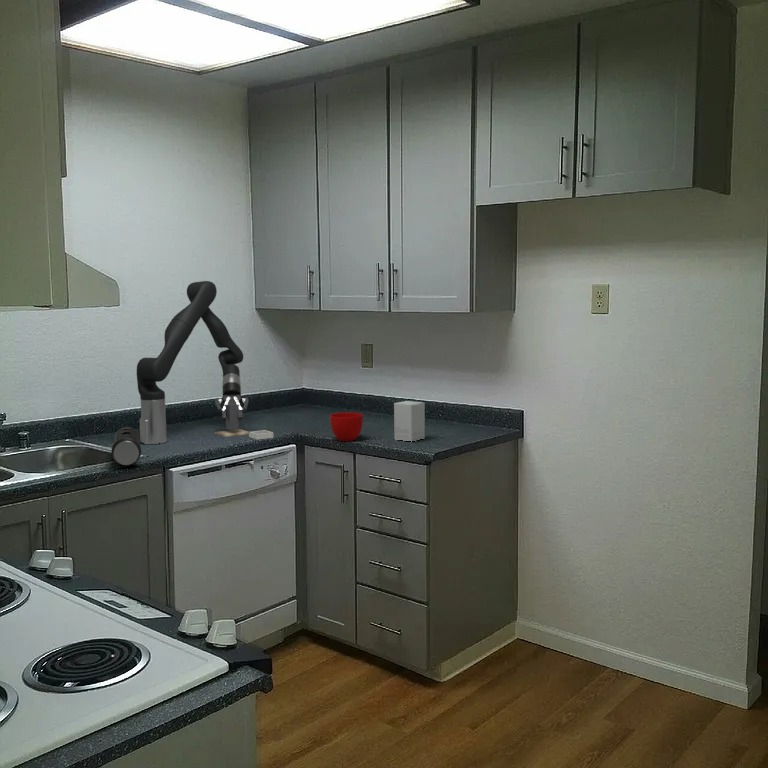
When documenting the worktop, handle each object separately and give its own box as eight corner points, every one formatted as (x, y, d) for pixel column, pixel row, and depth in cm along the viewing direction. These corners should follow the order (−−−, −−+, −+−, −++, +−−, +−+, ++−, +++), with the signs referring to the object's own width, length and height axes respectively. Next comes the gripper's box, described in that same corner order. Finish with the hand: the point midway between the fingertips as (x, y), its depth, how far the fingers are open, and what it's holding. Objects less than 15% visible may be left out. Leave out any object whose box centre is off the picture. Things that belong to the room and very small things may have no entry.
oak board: (224, 438, 329) (224, 435, 329) (214, 434, 337) (214, 432, 337) (251, 434, 336) (251, 432, 336) (240, 431, 344) (240, 429, 344)
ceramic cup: (373, 436, 330) (373, 412, 329) (353, 444, 315) (352, 418, 314) (345, 434, 336) (345, 410, 335) (324, 441, 321) (323, 416, 320)
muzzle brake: (141, 452, 301) (140, 425, 300) (141, 468, 274) (140, 438, 273) (113, 454, 298) (112, 426, 297) (111, 470, 271) (110, 440, 270)
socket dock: (257, 440, 323) (257, 433, 322) (249, 438, 329) (248, 431, 328) (273, 438, 327) (273, 432, 327) (265, 436, 333) (264, 429, 332)
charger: (230, 429, 333) (229, 405, 332) (226, 428, 337) (225, 404, 335) (239, 428, 336) (238, 404, 334) (235, 427, 339) (234, 403, 338)
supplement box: (425, 439, 324) (425, 402, 322) (411, 442, 317) (411, 404, 315) (407, 437, 329) (407, 400, 328) (393, 440, 323) (393, 402, 321)
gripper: (213, 381, 340) (214, 414, 330) (248, 380, 342) (250, 413, 332) (214, 392, 346) (214, 425, 335) (248, 391, 348) (250, 424, 338)
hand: (232, 419), depth 334 cm, fingers closed on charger, 5 cm apart
